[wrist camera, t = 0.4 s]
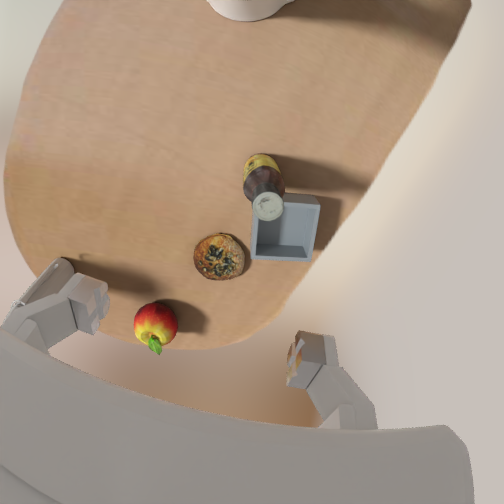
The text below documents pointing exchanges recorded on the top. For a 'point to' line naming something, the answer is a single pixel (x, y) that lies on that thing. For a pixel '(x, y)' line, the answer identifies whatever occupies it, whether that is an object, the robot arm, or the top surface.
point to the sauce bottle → (264, 187)
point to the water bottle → (46, 283)
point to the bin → (287, 231)
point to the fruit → (155, 325)
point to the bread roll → (219, 257)
